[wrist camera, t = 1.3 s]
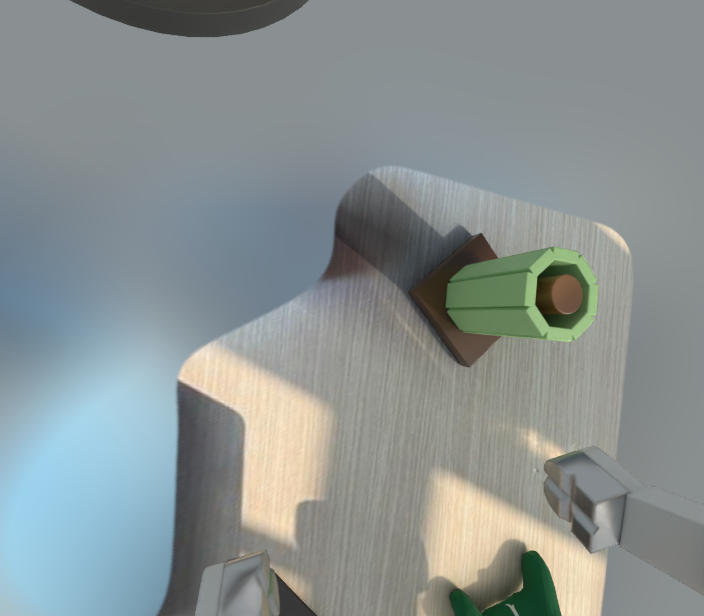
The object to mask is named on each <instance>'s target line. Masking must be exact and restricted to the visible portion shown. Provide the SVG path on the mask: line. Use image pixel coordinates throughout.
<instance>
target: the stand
mask: <svg viewBox="0 0 704 616" xmlns="http://www.w3.org/2000/svg"><path fill="white" fill-rule="evenodd" d="M493 259H498V257H497V256H496V254H495V253H494V251H493V250H492V248H491V247H490V245H489V244H488V242H487V241H486V239H485V237H484V236H483V234H482V233H480V234H477V235H474V236H472V237H471V238H470V239H469V240H467V241H466V242H465V243H464V244H463V245H462V246H460V247H459V248H458V249H457V250H456V251H455V252H454V253H452V254H451V255H450V256H449V257H448V258H447V259H445V260H444V261H443V262H442V263H441V264H440V265H438V266H437V267H436V268H435V269H434V270H433V271H431V272H430V273H429V274H428V275H427V276H426V277H425V278H423V279H422V280H421V281H420V282H419V283H418V284H416V285H415V286H414V287H413V288H412V289H411V290H409V291H408V292H409V294H410V295H411V297H412V298H413V299H414V301H415V302H416V304H417V305H418V306H419V308H420V309H421V310H422V312H423V313H424V315H425V316H426V317H427V319H428V320H429V322H430V323H431V324H432V326H433V327H434V328H435V330H436V331H437V333H438V334H439V335H440V337H441V338H442V340H443V341H444V342H445V344H446V345H447V346H448V348H449V349H450V351H451V352H452V353H453V355H454V356H455V358H456V359H457V360H458V362H459V363H460V364H461V366H465V367H471V366H472V365H473V364H474V363H475V362H476V361H477V360H478V359H479V358H480V357H481V356H482V355H483V354H484V353H485V352H486V351H487V350H488V349H489V348H490V347H491V346H492V345H493V344H494V343H495V342H496V341H497V340H498V339H499V338H500V337H501V336H496V335H484V334H475V333H466V332H463V330H459V328H458V327H457V325H456V324H455V323H454V321H453V320H452V318H451V317H450V315H449V314H448V313H447V310H449V309H450V308H446V297H447V286H448V283H451V282H450V279H451V278H452V277H453V276H454V275H456V274H457V273H458V272H459V271H460V270H461V269H462V268H463V267H465V266H466V265H470V264H475V263H479V262H484V261H489V260H493ZM581 301H582V288H581V285H580V283H579V282H578V280H577V279H576V278H575V277H573V276H571V275H567V274H564V275H556V276H547V277H539V278H537V286H536V299H535V305H536V307H537V308H538V310H539V312H540V313H541V314H571V313H573V312H575V311H576V310H577V309H578V308H579V306H580V304H581Z"/></svg>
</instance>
